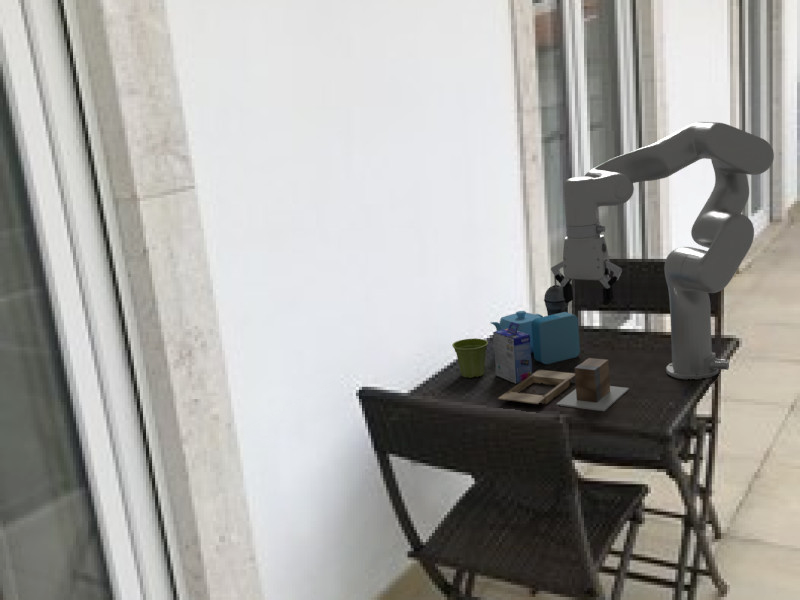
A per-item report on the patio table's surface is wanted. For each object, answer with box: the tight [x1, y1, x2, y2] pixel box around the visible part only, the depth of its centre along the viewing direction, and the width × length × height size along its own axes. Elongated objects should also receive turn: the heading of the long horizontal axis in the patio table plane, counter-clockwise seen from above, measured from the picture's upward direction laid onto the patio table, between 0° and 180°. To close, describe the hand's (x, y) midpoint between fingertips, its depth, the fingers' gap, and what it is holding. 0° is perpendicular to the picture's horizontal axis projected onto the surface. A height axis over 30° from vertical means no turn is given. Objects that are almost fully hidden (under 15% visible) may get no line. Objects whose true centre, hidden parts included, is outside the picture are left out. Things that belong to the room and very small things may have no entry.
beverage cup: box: [543, 274, 570, 316], centre depth 279 cm, size 7×7×20 cm
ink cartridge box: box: [492, 322, 533, 385], centre depth 250 cm, size 10×6×14 cm, turn 28°
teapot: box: [490, 310, 544, 354], centre depth 271 cm, size 12×18×12 cm
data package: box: [531, 312, 581, 365], centre depth 261 cm, size 12×4×12 cm, turn 112°
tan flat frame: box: [497, 369, 575, 405], centre depth 239 cm, size 11×22×2 cm, turn 145°
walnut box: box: [574, 357, 611, 403], centre depth 231 cm, size 5×8×8 cm, turn 145°
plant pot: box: [452, 337, 489, 379], centre depth 256 cm, size 9×9×9 cm
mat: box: [556, 385, 630, 412], centre depth 232 cm, size 12×15×1 cm
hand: (588, 302), depth 227 cm, fingers open, 9 cm apart
